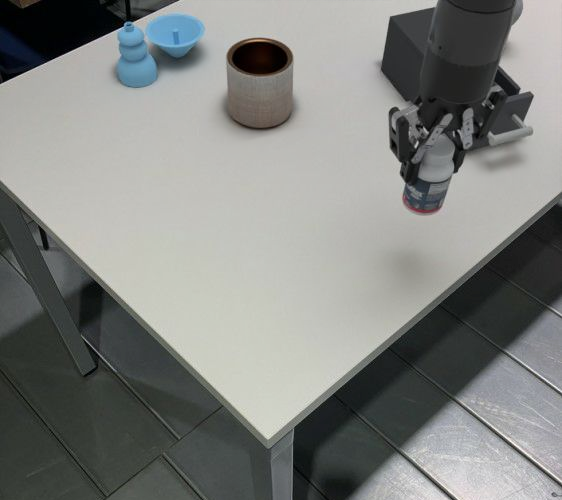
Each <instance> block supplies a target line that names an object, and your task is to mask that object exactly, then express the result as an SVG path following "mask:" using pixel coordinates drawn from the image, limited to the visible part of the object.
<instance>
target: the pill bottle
mask: <svg viewBox="0 0 562 500" xmlns="http://www.w3.org/2000/svg"><path fill="white" fill-rule="evenodd" d="M454 150H455V145H454V143H453V142H452V141H451V138H450V137H447V136H445V135H443V134H441V135H440V136H439V137H438V139H437V140H436V142H435V144H434V145H433V147H431V148H430V147H429V148H428V149H427V150H426V152H425V154H424V155H423V157H422V159H421V160H420V161H421V165H420V169H419V173H418V177H417V181H416V184H415V185H413V186H408V185H407V183H404V188H403V191H402V196H401V201H402V205H403V206H404V208H405V209H406V210H407V211H408V212H410V213H412V214H414V215H416V216H420V217H428V216H433V215H435V214H437V213H438V212H440V211H441V210H442V208H443V205H444V203H445V200H446V196H447V194H448V190H449V188H450V184H451V181H452V178H453V175H454V174H453V171H454V162H453V160H452V158H453V154H454Z"/></svg>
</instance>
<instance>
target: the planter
mask: <svg viewBox="0 0 562 500" xmlns="http://www.w3.org/2000/svg"><path fill="white" fill-rule="evenodd" d="M294 57H295V56H294V53H293V51H292V50H291V48H290V47H288V46H287V44H285V43H284V42H281V41H279V40H277V39H273V38H268V37H250V38H246V39H242V40H240V41H237V42H236V43H234V44H232V45H231V46H230V48H229V49H228V50H227V52H226V55H225V63H226V64H225V65H226V86H227V87H226V88H227V89H226V90H227V91H226V92H227V108H228V112H229V114H230V116H231V118H233V120H235V121H236V122H238V123H239V124H241V125H244V126H246V127H250V128H254V129H266V128H273V127H276V126H278V125H280V124H282V123H284V122H285V121H287V119H288V118H289V117H290V116H291V113H292V110H293V98H294V97H293V95H294V94H293V93H294V92H293V91H294V89H293V88H294V61H295V59H294Z"/></svg>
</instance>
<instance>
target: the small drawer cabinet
mask: <svg viewBox="0 0 562 500" xmlns="http://www.w3.org/2000/svg"><path fill="white" fill-rule="evenodd" d="M435 7H436V6H433V7H428V8H424V9H423V8H422V9H419V10H413V11H409V12H404V13H399V14H395V15H390V16H389V19H388V25H387V30H386V36H385V43H384V48H383V54H382V60H381V67H380V70H381V72H382V73H383V74H384V76H385V77H386V78H387V80H388V81H389V83H391V84H392V86H393V87H394V88H395V89H396V90H397V92H398V93H399V94H400V95H401V97H402V98H403V99H404V101H405V102H411V104H413V102H414V100H415V99H416V97H417V96H418V94H419V92H420V73H421V68H422V64H423V59H424V55H425V50H426V46H427V41H428V37H429V32H430V28H431V23H432V18H433V14H434V10H435Z"/></svg>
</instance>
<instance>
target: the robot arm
mask: <svg viewBox="0 0 562 500" xmlns="http://www.w3.org/2000/svg"><path fill="white" fill-rule="evenodd" d="M516 4H517V0H437V2H436V5H435V6H434V7H435V10H434V14H433V18H432V23H431V28H430V32H429V37H428V41H427V46H426V50H425V55H424V59H423V64H422V68H421V73H420V92H419V94H418V96H417V97H416V99H415V100H414V102H413V103H412V105H410V106H408V107H405V108H403V109H401V110H400V109H399V107H398V106H393V107H391V108H390V109H389V110H388V113H387V114H388V137H389V139H388V141H389V144H388V145H389V150H390V151H391V152H392V154H393V155H394V156H395V158H396V159H397V161H398V162H399V163H400V164H401V165H400V169H399V176H400V178H401V179H402V180H403V182H405V183H407V185H408V186H413V185H415V184H416V181H417V177H418V173H419V169H420V165H421V161H420V160H421V159H422V157H423V155H424V154H425V152H426V150H427V149H428V148H429V147H430V148H431V147H433V145H434V144H435V142H436V140H437V139H438V137H439V136H440V135H443V134H446V132H447V131H453V136H454V137H455V138H454V139H451V138H450V140H451V141H452V142H453V143H454V145H455V150H454V154H453V158H452V160H453V162H454V171H453V175H455V174H457V173H458V172H459V170H460V169H461V167H462V166H463V163H464V161H465V157H466V154H467V152H468V151H467V149H468V148H470V147H471V146H472V144H473V142H474V141H476V140H478V141H483V140H484V139H485V138H486V137H487V135H488V133H489V131H490V130H491V128H492V126H493V124H494V122H495V120H496V118H497V117H498V115H499V113H500V111H501V109H502V107H503V105H504V104H505V102H506V100H507V98H508V95H507V94H506V93H505V92H504V90H503V89H502V88H501V87H500V86H499V85H498V84H497V83H496V82H493V81H494V78H495V75H496V72H497V69H498V66H500V62H501V59H502V57H503V54H504V52H505V51H504V50H505V48H506V45H507V41H508V39H509V36H510V33H511V30H512V26H513V25H512V23H513V18H514V12H515V7H516ZM482 118H483V124H482V126H480V125H479V124H480V122H481V120H482ZM424 129H425V130H426V131H425V130H424ZM417 143H418V144H417ZM415 146H416V147H415ZM405 183H404V184H405Z"/></svg>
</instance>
